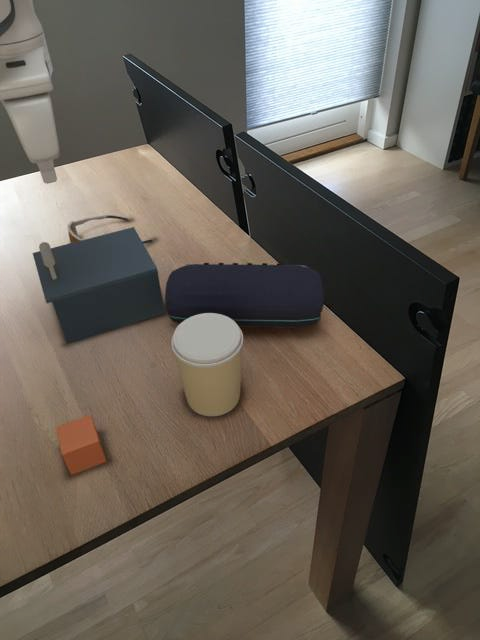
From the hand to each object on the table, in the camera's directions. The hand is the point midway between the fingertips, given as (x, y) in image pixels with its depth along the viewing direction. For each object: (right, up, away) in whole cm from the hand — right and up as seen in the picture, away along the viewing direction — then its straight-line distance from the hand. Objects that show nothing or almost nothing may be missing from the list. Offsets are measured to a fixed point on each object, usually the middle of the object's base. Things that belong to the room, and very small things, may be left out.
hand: (44, 166), depth 75 cm
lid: (+4, -12, +12) cm, 18 cm away
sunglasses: (+1, -6, +33) cm, 34 cm away
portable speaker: (+28, -21, +14) cm, 38 cm away
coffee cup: (+23, -32, +2) cm, 40 cm away
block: (+7, -39, -5) cm, 40 cm away
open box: (+4, -19, +18) cm, 27 cm away
